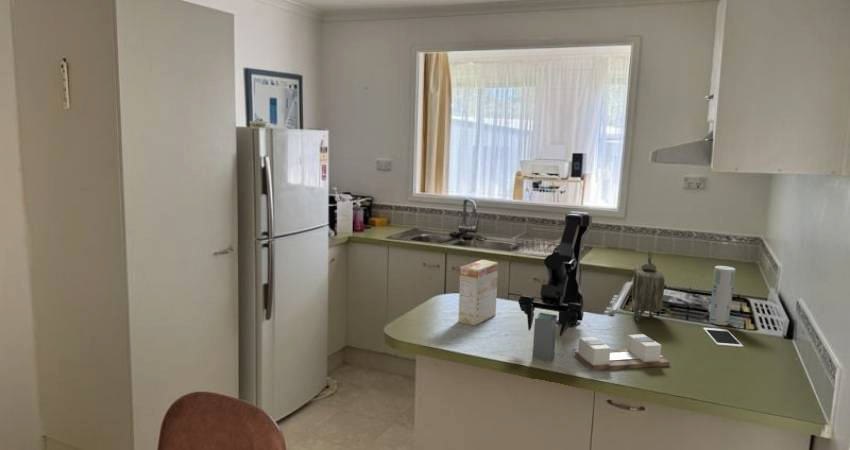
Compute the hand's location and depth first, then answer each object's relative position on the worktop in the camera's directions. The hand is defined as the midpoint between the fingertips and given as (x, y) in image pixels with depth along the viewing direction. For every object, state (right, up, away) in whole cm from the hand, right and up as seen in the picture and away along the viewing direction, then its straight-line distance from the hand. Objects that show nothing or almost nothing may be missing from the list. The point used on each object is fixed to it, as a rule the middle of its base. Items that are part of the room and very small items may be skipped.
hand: (544, 332), depth 171 cm
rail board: (+21, -8, 0) cm, 23 cm away
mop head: (+44, -2, +40) cm, 60 cm away
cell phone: (+63, -6, +22) cm, 68 cm away
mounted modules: (+21, -7, -1) cm, 23 cm away
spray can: (+70, -3, +37) cm, 79 cm away
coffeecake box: (-17, -1, +34) cm, 38 cm away
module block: (0, -7, +2) cm, 7 cm away
